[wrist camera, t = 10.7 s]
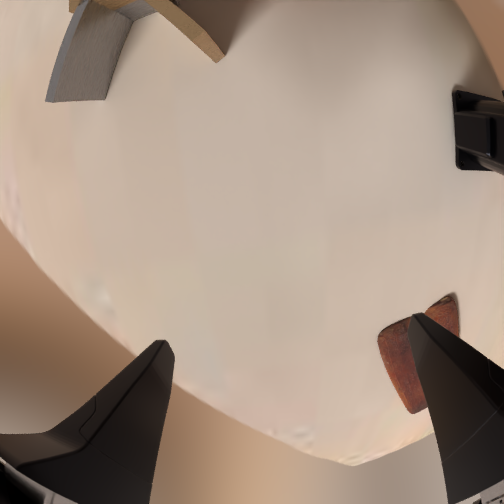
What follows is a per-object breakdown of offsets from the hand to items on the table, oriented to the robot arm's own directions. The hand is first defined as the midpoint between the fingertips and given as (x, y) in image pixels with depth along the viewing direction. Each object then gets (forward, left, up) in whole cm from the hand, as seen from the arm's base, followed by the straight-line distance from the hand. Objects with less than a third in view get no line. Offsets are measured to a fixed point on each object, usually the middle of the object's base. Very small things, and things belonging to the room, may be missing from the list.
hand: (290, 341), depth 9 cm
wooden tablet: (-18, +24, -13) cm, 32 cm away
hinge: (+7, -17, -12) cm, 22 cm away
